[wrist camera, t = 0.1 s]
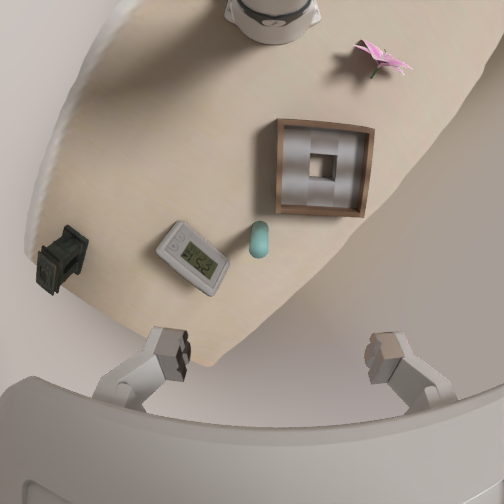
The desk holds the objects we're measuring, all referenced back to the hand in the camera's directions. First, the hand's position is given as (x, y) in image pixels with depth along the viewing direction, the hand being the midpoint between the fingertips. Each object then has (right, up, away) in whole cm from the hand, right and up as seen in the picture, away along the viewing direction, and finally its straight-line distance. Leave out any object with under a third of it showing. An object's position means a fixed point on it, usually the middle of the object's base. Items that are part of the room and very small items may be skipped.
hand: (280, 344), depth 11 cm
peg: (+1, +9, +50) cm, 51 cm away
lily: (+24, +43, +30) cm, 57 cm away
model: (-52, +5, +56) cm, 77 cm away
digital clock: (-13, +5, +53) cm, 55 cm away
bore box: (+13, +22, +42) cm, 49 cm away
